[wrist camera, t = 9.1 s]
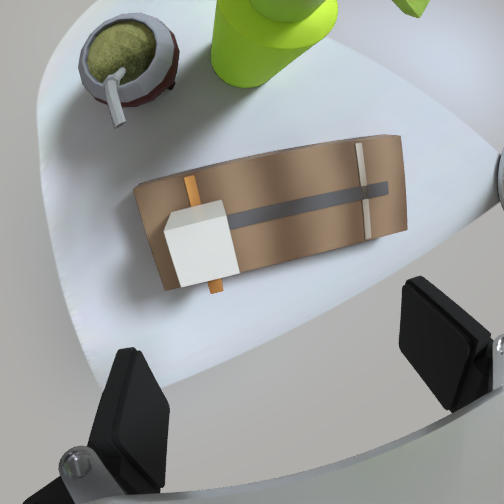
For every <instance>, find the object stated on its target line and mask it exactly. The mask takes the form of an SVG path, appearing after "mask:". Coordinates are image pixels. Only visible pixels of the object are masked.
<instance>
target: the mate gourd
mask: <svg viewBox="0 0 504 504" xmlns="http://www.w3.org/2000/svg"><path fill="white" fill-rule="evenodd" d="M179 53H180V51H179V48H178V45H177V42H176V39H175V36H174V34H173V33H172V32H171V31H170V30H169V29H168V28H167V27H166V26H165V25H164V24H163V23H162V22H161V21H160V20H159V19H157V18H155V17H152V16H149V15H146V14H143V13H129V14H121V15H119V16H116V17H114V18H112V19H109V20H107V21H105V22H103V23H102V24H101V25H100V26H99V27H98V28H96V29H95V30H94V31H93V32H92V33H91V34H90V36H89V37H88V39H87V41H86V42H85V44H84V46H83V48H82V50H81V53H80V59H79V66H78V69H79V73H80V77H81V80H82V84H83V85H84V86H85V88H86V89H87V90H88V91H89V92H90V93H91V95H92V96H93V97H94V98H95V99H96V100H97V101H99V102H102V103H104V104H107V105H108V106H109V110H110V114H111V117H112V121H113V124H114V128H118V127H120V126H121V125H123V124H124V123H125V122H126V119H125V116H124V113H123V110H122V107H137V106H139V105H142V104H144V103H147V102H150V101H152V100H154V99H155V98H156V97H158V96H159V95H160V94H161V93H162V92H164V91H165V90H166V89H169V90H172V89H173V87H174V85H175V77H176V74H177V68H178V60H179Z"/></svg>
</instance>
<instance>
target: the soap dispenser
mask: <svg viewBox="0 0 504 504" xmlns="http://www.w3.org/2000/svg"><path fill="white" fill-rule="evenodd" d="M392 1H393V2H394V3H395V4H396V5H397V6H398V7H399V8H400V9H401V11H402V12H404V13H405V14H408V15H410V16H413V17H416V18H420V17H421V15H422V13H423V12H424V10H425V8H426V6H427V5H428V3H429V1H430V0H392ZM337 14H338V3H337V0H217V4H216V12H215V21H214V29H213V38H212V48H211V63H212V66H213V69H214V71H215V72H216V74H217V75H218V76H219V77H220V78H221V79H222V80H223V81H225V82H226V83H228V84H230V85H232V86H235V87H240V88H252V87H257V86H259V85H262V84H264V83H265V82H267V81H268V80H270V79H271V78H272V77H273V76H274V75H276V74H277V73H278V72H279V71H281V70H282V69H283V68H285V67H286V66H287V65H288V64H290V63H291V62H292V61H293V60H295V59H296V58H297V57H299V56H300V55H301V54H303V53H304V52H305V51H307V50H308V49H309V48H311V47H312V46H313V45H315V44H316V43H318V42H319V41H320V40H322V39H323V38H324V37H325V36H326V35H327V34H328V33H329V32H330V31H331V30H332V28H333V26H334V24H335V22H336V19H337Z"/></svg>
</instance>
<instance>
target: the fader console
mask: <svg viewBox="0 0 504 504" xmlns="http://www.w3.org/2000/svg"><path fill="white" fill-rule="evenodd" d="M133 190H134V194H135V198H136V201H137V205H138V208H139V212H140V215H141V218H142V222H143V225H144V228H145V232H146V235H147V238H148V241H149V244H150V247H151V251H152V254H153V257H154V260H155V263H156V266H157V269H158V272H159V275H160V277H161V280H162V283H163V286H164V289H165V291H166V290H170V289H175V288H179V287H181V285H180V282H179V279H178V276H177V273H176V270H175V267H174V263H173V260H172V257H171V254H170V251H169V247H168V244H167V241H166V237H165V234H164V229H165V226H166V224H167V221H168V219H169V216H170V214H171V212H174V211H178V210H182V209H186V208H190V207H194V206H198V205H202V204H206V203H210V202H214V201H218V200H222V202H223V206H224V209H225V213H226V217H227V221H228V225H229V229H230V234H231V238H232V242H233V246H234V251H235V255H236V259H237V263H238V267H239V272H240V273H241V272H245V271H249V270H254V269H258V268H262V267H266V266H270V265H274V264H278V263H282V262H286V261H290V260H294V259H298V258H302V257H306V256H309V255H313V254H317V253H321V252H325V251H329V250H333V249H337V248H341V247H345V246H348V245H352V244H356V243H360V242H364V241H368V240H371V239H375V238H379V237H383V236H386V235H390V234H394V233H398V232H401V231H405V230H407V204H406V187H405V174H404V162H403V152H402V144H401V136H397V135H375V136H367V137H359V138H352V139H344V140H337V141H331V142H324V143H318V144H312V145H306V146H300V147H294V148H289V149H283V150H278V151H273V152H267V153H262V154H257V155H253V156H248V157H243V158H238V159H234V160H229V161H225V162H221V163H216V164H212V165H208V166H204V167H200V168H196V169H192V170H188V171H184V172H180V173H176V174H172V175H169V176H165V177H161V178H158V179H154V180H151V181H147V182H144V183H140V184H139V185H138V186H136V187H135V188H134V189H133ZM208 286H209V289H210V293H211V294H213V293H217V292H222V291H223V284H222V278H219V279H215V280H210V281H208Z"/></svg>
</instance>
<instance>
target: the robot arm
mask: <svg viewBox="0 0 504 504" xmlns="http://www.w3.org/2000/svg"><path fill="white" fill-rule="evenodd" d="M498 192H499V198H500V202H501V205H502V207H503V210H504V149H503V151H502V154H501V158H500V163H499V170H498ZM490 337H491V333H490V332H489V331H488V330H486V329H485V328H484V327H483V326H482V325H481V324H480V323H479V322H477V321H476V320H475V319H474V318H473V317H472V316H470V315H469V314H468V313H467V312H466V311H465V310H463V309H462V308H461V307H460V306H459V305H457V304H456V303H455V302H454V301H453V300H451V299H450V298H449V297H448V296H446V295H445V294H444V293H443V292H442V291H440V290H439V289H438V288H436V287H435V286H434V285H433V284H431V283H430V282H429V281H428V280H426V279H425V278H424V277H422V276H417V277H414V278H411V279H409V280H407V281H406V283H405V285H404V286H403V287H402V304H401V320H400V333H399V348H400V350H401V352H402V353H403V354H404V356H405V357H406V358H407V360H408V361H409V362H410V364H411V365H412V366H413V367H414V369H415V370H416V371H417V373H418V374H419V375H420V377H421V378H422V379H423V381H424V382H425V383H426V384H427V386H428V387H429V389H430V390H431V391H432V393H433V394H434V395H435V397H436V398H437V399H438V401H439V402H440V403H441V405H442V406H443V407H444V409H446V410H450V411H451V413H452V414H450V415H448V416H446V417H444V418H442V419H440V420H438V421H437V422H434V423H432V424H430V425H428V426H426V427H424V428H422V429H420V430H418V431H416V432H414V433H411V434H409V435H407V436H405V437H403V438H400V439H398V440H395V441H393V442H391V443H388V444H386V445H383V446H380V447H378V448H375V449H373V450H370V451H368V452H365V453H362V454H359V455H356V456H353V457H351V458H348V459H345V460H342V461H339V462H335V463H332V464H329V465H326V466H322V467H319V468H315V469H311V470H308V471H304V472H300V473H296V474H292V475H288V476H283V477H279V478H274V479H270V480H265V481H260V482H254V483H249V484H243V485H237V486H230V487H223V488H216V489H207V490H197V491H187V492H175V493H160V488H163V487H164V485H165V472H166V454H167V439H168V425H169V413H170V408H169V404H168V401H167V399H166V398H165V396H164V394H163V392H162V390H161V388H160V387H159V385H158V383H157V381H156V379H155V377H154V375H153V373H152V371H151V370H150V368H149V366H148V364H147V362H146V360H145V358H144V356H143V354H142V352H141V351H140V350H138V351H137V350H136V349H135V348H134V347H131V348H125V349H119V350H118V351H117V354H116V356H115V359H114V362H113V365H112V368H111V371H110V374H109V377H108V380H107V383H106V386H105V389H104V391H103V393H102V396H101V400H100V403H99V406H98V409H97V413H96V416H95V419H94V423H93V426H92V430H91V433H90V437H89V441H88V444H87V446H77V447H73V448H71V449H69V450H68V451H67V452H66V453H64V455H63V456H62V458H61V459H60V462H59V469H58V470H59V473H60V476H59V477H58V478H56V479H55V480H54V481H52V482H51V483H49V484H48V485H46V486H45V487H43V488H42V489H41V490H39V491H38V492H36V493H35V494H33V495H32V496H30V497H29V498H27V499H26V500H25V501H24V502H23V504H504V334H502V335H499V336H498V337H496V338H495V340H492V339H491V338H490Z"/></svg>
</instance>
